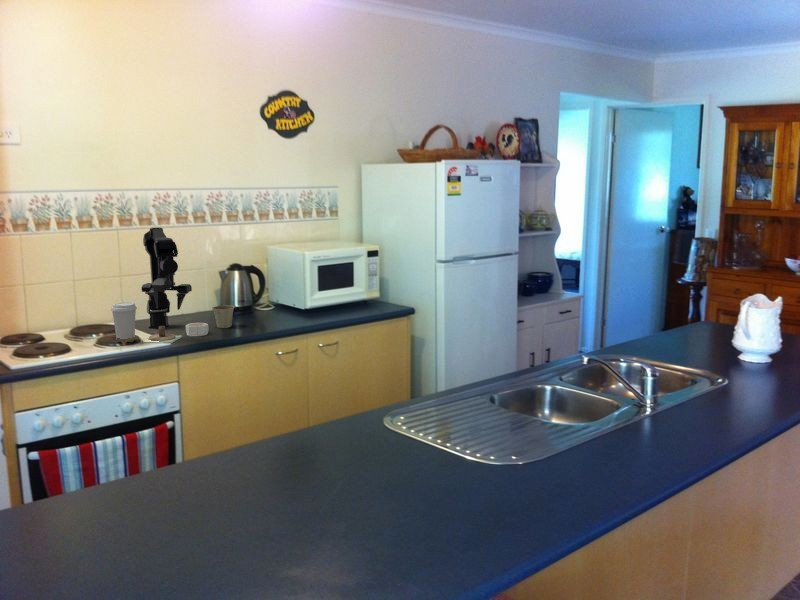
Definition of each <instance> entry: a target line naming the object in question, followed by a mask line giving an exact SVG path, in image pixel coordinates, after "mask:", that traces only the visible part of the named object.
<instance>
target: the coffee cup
mask: <svg viewBox="0 0 800 600" xmlns="http://www.w3.org/2000/svg"><path fill="white" fill-rule="evenodd" d="M137 309H138V307H137V306H136V304H135V303H134V302H129V301H128V302H127V301H126V302H116V303H113V304H112V306H111V309H110V311H111V312H112V319H113V323H114V330H115V337H116V339H117V338H120V339H128V338H132V337H135V338H136V315H137V313H136V310H137Z"/></svg>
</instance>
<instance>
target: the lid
mask: <svg viewBox="0 0 800 600" xmlns="http://www.w3.org/2000/svg"><path fill="white" fill-rule="evenodd" d="M175 336H176V334H174V333H166V327H165V326H159V328H158V333H157V334H151V335H150V336H148V338H149V340H152V341H167V340H172V339H175Z"/></svg>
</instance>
